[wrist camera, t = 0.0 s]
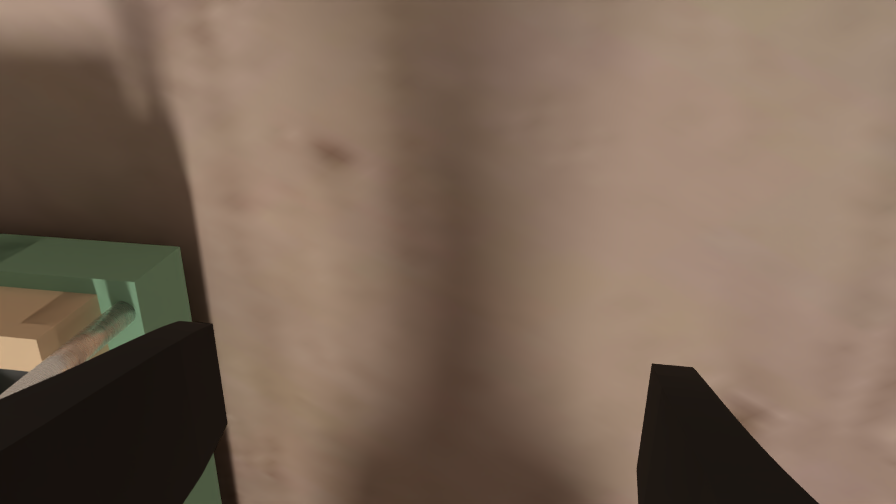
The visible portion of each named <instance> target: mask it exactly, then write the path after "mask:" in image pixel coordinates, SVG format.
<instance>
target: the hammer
mask: <svg viewBox="0 0 896 504" xmlns="http://www.w3.org/2000/svg"><path fill="white" fill-rule="evenodd" d="M135 318H136V312H135V310H134V308H133V307H132V306H131V305H130V304H128V303H127V302H123V301H119V302H117V303H115V304H114V305H113V306H111V307H110V308H109V309H108V310H106V311H105V312H104V313H103V314H101V315H100V316H99V317H98V318H96V319H95V320H94V321H92V322H91V323H90V324H89V325H87V326H86V327H85V328H84V329H82V330H81V331H80V332H79V333H77V334H76V335H75V336H74V337H72V338H71V339H70V340H69V341H67V342H66V343H65V344H64V345H62V346H61V347H60V348H58V349H57V350H56V351H55V352H53V353H52V354H51V355H50V356H48V357H47V358H46V359H45V360H43V361H42V362H41V363H40V364H38V365H37V366H36V367H35V368H33V369H32V370H31V371H30V372H28V373H27V374H26V375H25V376H23V377H22V378H21V379H19V380H18V381H17V382H16V383H14V384H13V385H12V386H11V387H9V388H8V389H7V390H6V391H4V392H3V393H2V394H1V395H0V399H1V398H4V397H6V396H8V395H11V394H13V393H15V392H18V391H20V390H22V389H25V388H27V387H29V386H32V385H34V384H36V383H39V382H41V381H43V380H46V379H48V378H50V377H53V376H55V375H57V374H59V373H62V372H64V371H66V370H68V369H70V368H72V367H75V366H77V365H79V364H81V363H83V362H85V361H88V360H89V359H90V358H91V357H93V356H94V355H95V354H96V353H97V352H98V351H99V350H101V349H102V348H103V347H104V346H105V345H106V344H108V343H109V342H110V341H111V340H112V339H113V338H114V337H116V336H117V335H118V334H119V333H120V332H121V331H123V330H124V329H125V328H126V327H127V326H128V325H129V324H131V323H132V322H133V321H134V320H135Z"/></svg>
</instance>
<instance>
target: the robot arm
mask: <svg viewBox="0 0 896 504" xmlns="http://www.w3.org/2000/svg"><path fill="white" fill-rule="evenodd" d="M226 425H227V417H226V411H225V404H224V397H223V391H222V384H221V377H220V371H219V364H218V357H217V350H216V344H215V337H214V330H213V324H210V323H199V322H188V321H177V322H174V323H171V324H168V325H165V326H163V327H160V328H158V329H155V330H153V331H151V332H148V333H146V334H144V335H142V336H139V337H137V338H135V339H133V340H131V341H128V342H126V343H124V344H122V345H120V346H118V347H115V348H113V349H111V350H109V351H107V352H105V353H103V354H100V355H98V356H96V357H94V358H92V359H90V360H88V361H85V362H83V363H81V364H79V365H77V366H75V367H72V368H70V369H68V370H66V371H64V372H62V373H59V374H57V375H55V376H53V377H50V378H48V379H46V380H43V381H41V382H39V383H36V384H34V385H32V386H29V387H27V388H25V389H22V390H20V391H18V392H15V393H13V394H11V395H8V396H6V397H4V398H1V399H0V504H183V503H184V502H185V500H186V499H187V497H188V496H189V494H190V493H191V491H192V490H193V488H194V487H195V485H196V483H197V482H198V480H199V479H200V477H201V476H202V474H203V472H204V470H205V468H206V466H207V464H208V462H209V461H210V459H211V457H212V455H213V453H214V451H215V449H216V446H217V444H218V442H219V440H220V438H221V436H222V434H223V431H224V429H225V427H226ZM637 487H638V504H819V503H818V502H816V501H815V500H814V499H813V498H812V497H811V496H810V495H809V494H808V493H807V492H806V491H805V490H804V489H803V488H802V487H801V486H800V485H799V484H798V483H797V482H796V481H795V480H794V479H793V478H792V477H790V476H789V475H788V474H787V473H786V472H785V471H784V470H783V469H782V468H781V467H780V466H779V465H778V463H777V462H776V461H775V460H774V459H773V458H772V457H771V456H770V455H769V454H768V453H767V452H766V451H765V450H764V449H763V448H762V447H761V446H760V444H759V443H758V442H757V441H756V440H755V439H754V438H753V437H752V436H751V435H750V434H749V432H748V431H747V430H746V429H745V428H744V427H743V426H742V424H741V423H740V422H739V421H738V420H737V419H736V417H735V416H734V415H733V414H732V413H731V412H730V410H729V409H728V408H727V407H726V406H725V405H724V403H723V402H722V401H721V400H720V399H719V397H718V396H717V395H716V394H715V393H714V391H713V390H712V389H711V388H710V387H709V385H708V384H707V383H706V382H705V381H704V379H703V378H702V377H701V376H700V375H699V374H698V372H697V371H696V370H695V369H694V368H693V367H684V366H673V365H662V364H652V366H651V373H650V380H649V387H648V394H647V401H646V408H645V415H644V422H643V429H642V435H641V442H640V449H639V456H638V463H637Z"/></svg>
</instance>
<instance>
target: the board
mask: <svg viewBox="0 0 896 504" xmlns="http://www.w3.org/2000/svg"><path fill="white" fill-rule="evenodd" d="M119 301H123V302H127V303H128V304H130V305H131V306H132V307H133V308H134V310H135V312H136V318H135V320H134V321H133V322H132V323H131V324H129V325H128V326H127V327H126V328H125V329H124V330H123V331H121V332H120V333H119V334H118V335H117V336H116V337H114V338H113V339H112V340H111V341H110V342H109V343H108V344H106V345H105V346H104V347H103V348H102V349H101V350H99V351H98V352H97V353H96V354H95V355H94V356H93V357H91V358H90V359H92V358H94V357H96V356H98V355H100V354H103V353H105V352H107V351H109V350H111V349H113V348H115V347H118V346H120V345H122V344H124V343H126V342H128V341H131V340H133V339H135V338H137V337H139V336H142V335H144V334H146V333H148V332H151V331H153V330H155V329H158V328H160V327H163V326H165V325H168V324H171V323H174V322H177V321H188V322H192V318H191V312H190V306H189V300H188V294H187V288H186V282H185V276H184V269H183V263H182V257H181V251H180V247H177V246H163V245H150V244H136V243H122V242H109V241H95V240H82V239H68V238H55V237H41V236H28V235H14V234H0V395H1V394H2V393H3V392H4V391H6V390H7V389H8V388H9V387H11V386H12V385H13V384H14V383H16V382H17V381H18V380H19V379H21V378H22V377H23V376H25V375H26V374H27V373H28V372H30V371H31V370H32V369H33V368H35V367H36V366H37V365H38V364H40V363H41V362H42V361H43V360H45V359H46V358H47V357H48V356H50V355H51V354H52V353H53V352H55V351H56V350H57V349H58V348H60V347H61V346H62V345H64V344H65V343H66V342H67V341H69V340H70V339H71V338H72V337H74V336H75V335H76V334H77V333H79V332H80V331H81V330H82V329H84V328H85V327H86V326H87V325H89V324H90V323H91V322H92V321H94V320H95V319H96V318H98V317H99V316H100V315H101V314H103V313H104V312H105V311H106V310H108V309H109V308H110V307H111V306H113V305H114V304H115V303H117V302H119ZM90 359H89V360H90ZM183 504H222V502H221V496H220V489H219V483H218V477H217V471H216V465H215V459H214V453H213V455H212V457H211V459H210V461H209V462H208V464H207V466H206V468H205V470H204V472H203V474H202V476H201V477H200V479H199V480H198V482H197V483H196V485H195V487H194V488H193V490H192V491H191V493H190V494H189V496H188V497H187V499H186V500H185V502H184V503H183Z"/></svg>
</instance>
